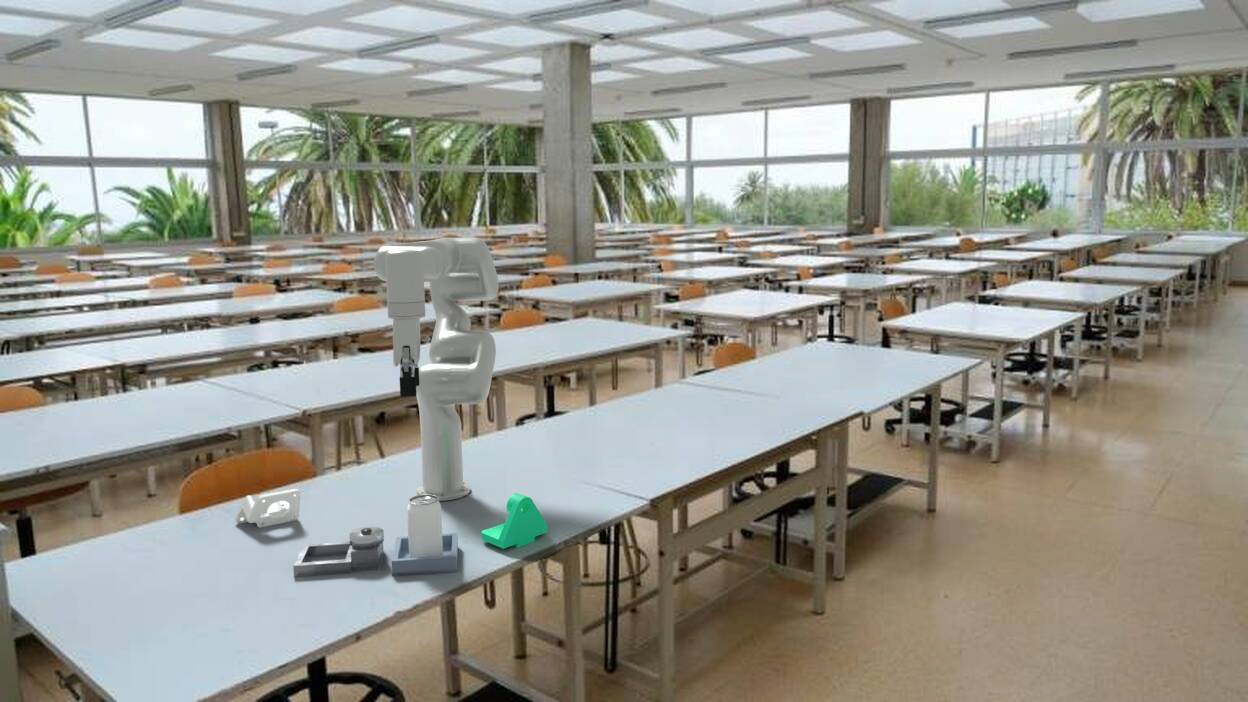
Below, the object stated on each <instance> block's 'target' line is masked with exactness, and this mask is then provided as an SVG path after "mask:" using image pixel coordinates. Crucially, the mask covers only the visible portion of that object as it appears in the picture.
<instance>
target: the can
mask: <svg viewBox="0 0 1248 702" xmlns="http://www.w3.org/2000/svg"><path fill="white" fill-rule="evenodd" d="M438 499H439V498H438V497H437V496H435V495H418V496H417V495H414V496H412V497H411V498H409V500H408V502H409V503H408V505H407V508H406V514H407V515H406V516H407V536H408V541H409V558H415V557H429V556H443V542H442V534H443V522H442V519H443V518H442V505H441V503H440V501H438Z"/></svg>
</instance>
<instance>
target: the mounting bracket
mask: <svg viewBox="0 0 1248 702" xmlns="http://www.w3.org/2000/svg"><path fill="white" fill-rule="evenodd" d="M300 505H301V491H300V489H299V488H292V489H291V488H290V489H285V490H281V491H276V492H275V491H274V492H270V493H264V494H260V495H258V497H257V498H256V499H255V500H254V499H253V496H252V495H249V494H248V495H246V496H245V498H244V500H243V502H242V503H241V506H240V508H239V509H238V511H237V513H236V516H235V518H234V519H235V522H236V524H244V523H248V524H253V523H255V524H256V525H257V527H258V528H260V529H261V528H264V527H270V526H274V525H278V524H280V525H281V524H285V523H290V522H294V521H297V520H299V518H300Z"/></svg>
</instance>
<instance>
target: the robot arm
mask: <svg viewBox="0 0 1248 702" xmlns="http://www.w3.org/2000/svg"><path fill="white" fill-rule="evenodd" d="M373 269H374V272H375V274H376V276H377V277H378V279H380V280H381V281H383V282H386V303H387V305H386V306H387V317H388V319H392V349H393V350H392V351H393V352H392V353H393V354H392V355H393V366H394V367H395V368H397V367H398V366H399V365H400V366H399V369H400V370H399V372H400V373H399V375H400V376H399V390H400V391H399V394H400V397H402V398H404V397H416V401H417V406H418V412H419V426H420V446H421V448H420V449H421V451H420V452H421V470H422V471H421V472H422V484H421V485H419V486H418V487H417V488H416V496H418V495H435V496H437V497H438V498H439V499H438V501H439V502H443V501H452V500H457V499H460V498H461V499H462V498H463V497H465V496H467V495H468V494H469V493H470V492H471V491H470V490H471V487H470V484H469V483H468V482H465V481H464V471H463V470H464V467H463V462H464V461H463V441H462V421H461V418H460V416H459V413H458V412H457V411H456V410H455V408H454V407H453V406H452V405H480V404H483V403H484V402H485V401H486V400H487V399H488V397H489V394H490V389H491V385H492V384H491V383H492V378H493V372H494V367H495V362H496V355H497V348H496V345H497V344H496V340H495V338H494V337H493V335H492V334H491V333H490V332H488V331H485V330H481V329H479V330H478V329H477V330H476V329H475V330H473V329H471V327H472V326H471V325H472V321H471V319H470V316H469V315H468V314H467V312H466V311H465V310H464V308H463V307H462V306H460V305H459V304H457V301H459V302H460V301H466V302H467V301H471V302H474V301H476V302H477V301H480V302H481V301H482V302H483V301H484V302H486V301H492V300H493V299H495V298H496V297H497V295H498V292H499V286H500V285H499V277H498V273H497V269H496V267H495V262H494V258H493V256H492V253H491V251H490V249H489V247H488V245H487V244H486V242H485V241H484V240H483V239H481V238H480V237H479V238H478V237H442V238H436V239H431V240H425V241H424V240H423V241H415V242H414V241H413V242H407V243H397V244H389V245H384V246H383V245H382V246H381V247H380V248H378V250H377V251H376V253H375V255H374V259H373ZM425 283H429V290H430V291H429V292H430V297H431V302H432V306H433V310H434V314H435V317H436V318H435V319H436V320H435V326H434V328H433V333H432V336H431V337H432V338H431V342H430V346H429V353H428V355H429V356H428V357H429V361H430V362H431V363H427V364H425V365H422V366H420V367H419V366H418V365H419V362H420V358H421V320H420V319H422V318H426V302H425V300H426V299H425V297H426V296H425Z"/></svg>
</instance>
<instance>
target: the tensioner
mask: <svg viewBox="0 0 1248 702" xmlns="http://www.w3.org/2000/svg"><path fill="white" fill-rule="evenodd" d="M384 533H385V531H384V529H383V528H381V527H378V526H377V527H376V526H365V527H359V528H356V529H354V530H353V529H352V531H351V532H349V533H348V534H349V536H348V537H349V541H337V542H324V543H323V542H321V543H307V544H305V543H304V544H303V545H302V548H301V549H300V551H299V553H298V555H297V558H296V560H295V562H294V564H293V566H292V567H293V577H294V578H296V577H297V578H298V577H311V576H312V577H313V576H325V575H326V576H327V575H339V574H340V575H342V574H352V572H361V571H362V572H363V571H376V570H377V571H378V570H380V566H381V562H382V558H383V554H384V542H385V535H384ZM338 555H339V556H341V555H346V556H345V559H340V560H339V559H337V560H326V561H325V560H322V561H311V562H310V561H309V560H310V558H312V557H327V556H338Z"/></svg>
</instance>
